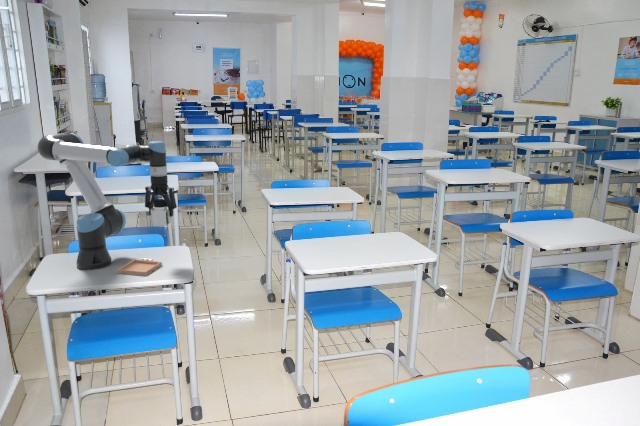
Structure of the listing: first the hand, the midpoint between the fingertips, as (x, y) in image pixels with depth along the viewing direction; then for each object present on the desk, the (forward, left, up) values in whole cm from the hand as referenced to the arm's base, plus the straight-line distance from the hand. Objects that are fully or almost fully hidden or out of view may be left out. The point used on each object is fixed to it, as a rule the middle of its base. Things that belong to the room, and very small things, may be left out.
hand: (161, 222), depth 249 cm
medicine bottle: (0, 0, -1) cm, 1 cm away
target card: (-9, -3, -19) cm, 21 cm away
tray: (-5, -14, -19) cm, 24 cm away
